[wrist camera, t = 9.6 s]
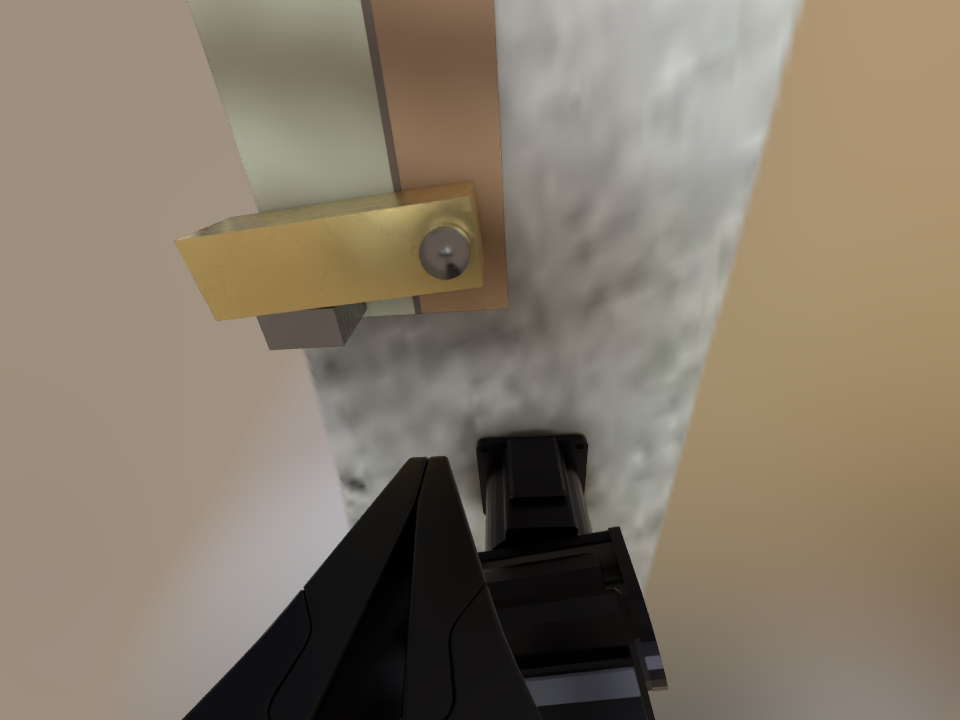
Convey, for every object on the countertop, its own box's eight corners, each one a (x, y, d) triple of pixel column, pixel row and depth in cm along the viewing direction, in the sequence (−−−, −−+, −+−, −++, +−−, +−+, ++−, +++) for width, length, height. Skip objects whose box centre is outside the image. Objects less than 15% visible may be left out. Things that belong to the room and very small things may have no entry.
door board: (507, 297, 20) (508, 308, 19) (306, 310, 20) (296, 321, 19) (476, -355, 11) (475, -407, 9) (110, -294, 11) (70, -338, 10)
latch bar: (473, 179, 16) (467, 200, 12) (484, 256, 17) (482, 295, 14) (231, 217, 17) (157, 247, 13) (261, 286, 18) (203, 330, 15)
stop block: (367, 308, 19) (344, 345, 16) (304, 312, 19) (269, 350, 16) (359, 275, 18) (332, 308, 15) (293, 280, 18) (255, 313, 15)
